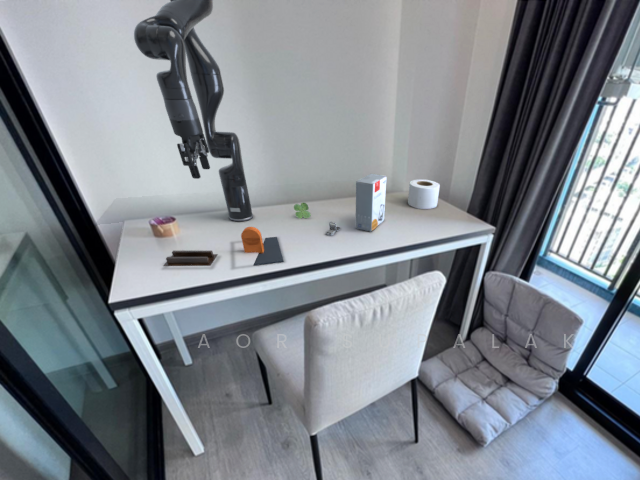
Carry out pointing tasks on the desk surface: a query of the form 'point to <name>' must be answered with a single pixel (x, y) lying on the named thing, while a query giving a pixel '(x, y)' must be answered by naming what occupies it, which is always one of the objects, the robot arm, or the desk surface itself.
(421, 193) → the white paper roll
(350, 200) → the desk surface
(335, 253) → the desk surface
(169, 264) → the holder
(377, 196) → the hard drive box
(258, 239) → the orange curved block
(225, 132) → the robot arm
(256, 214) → the desk surface
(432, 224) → the desk surface
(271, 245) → the felt mat
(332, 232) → the strap clip
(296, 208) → the green clover
